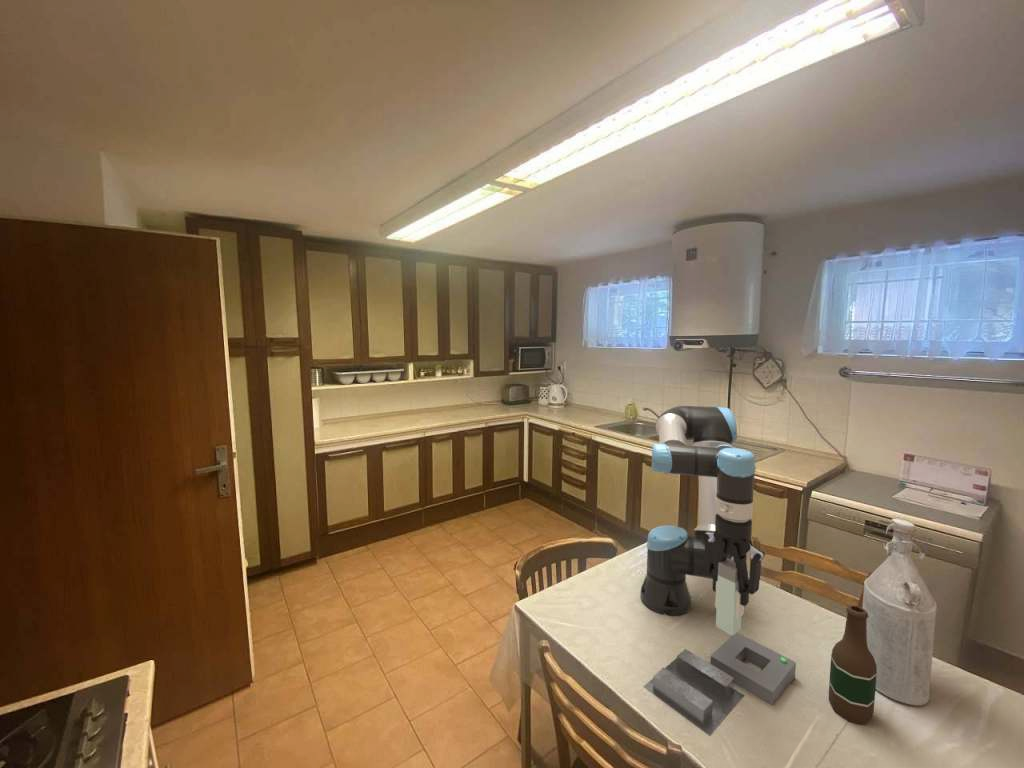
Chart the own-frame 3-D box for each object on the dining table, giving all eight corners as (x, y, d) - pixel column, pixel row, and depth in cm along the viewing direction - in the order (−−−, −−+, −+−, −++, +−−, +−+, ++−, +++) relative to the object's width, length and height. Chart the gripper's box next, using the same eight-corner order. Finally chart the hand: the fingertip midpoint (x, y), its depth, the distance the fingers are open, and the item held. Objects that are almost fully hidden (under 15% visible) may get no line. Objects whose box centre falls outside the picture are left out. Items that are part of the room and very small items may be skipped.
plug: (715, 626, 100) (718, 563, 99) (724, 619, 103) (727, 557, 101) (732, 635, 97) (735, 570, 95) (741, 628, 99) (744, 564, 98)
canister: (869, 698, 96) (882, 532, 92) (850, 649, 112) (860, 505, 108) (944, 720, 90) (961, 544, 87) (913, 665, 106) (926, 514, 102)
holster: (643, 689, 99) (643, 672, 99) (679, 658, 109) (680, 642, 109) (709, 739, 87) (710, 720, 86) (744, 698, 96) (745, 681, 96)
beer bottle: (819, 697, 97) (825, 599, 94) (850, 694, 97) (857, 597, 95) (849, 727, 89) (857, 621, 87) (882, 724, 90) (891, 619, 87)
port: (710, 670, 105) (710, 653, 104) (735, 645, 113) (736, 629, 113) (771, 708, 94) (772, 689, 93) (794, 677, 102) (796, 660, 102)
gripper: (690, 508, 102) (687, 598, 104) (765, 534, 88) (760, 637, 90) (706, 501, 106) (703, 588, 108) (781, 524, 92) (775, 623, 95)
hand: (729, 610), depth 99 cm, fingers closed on plug, 4 cm apart
